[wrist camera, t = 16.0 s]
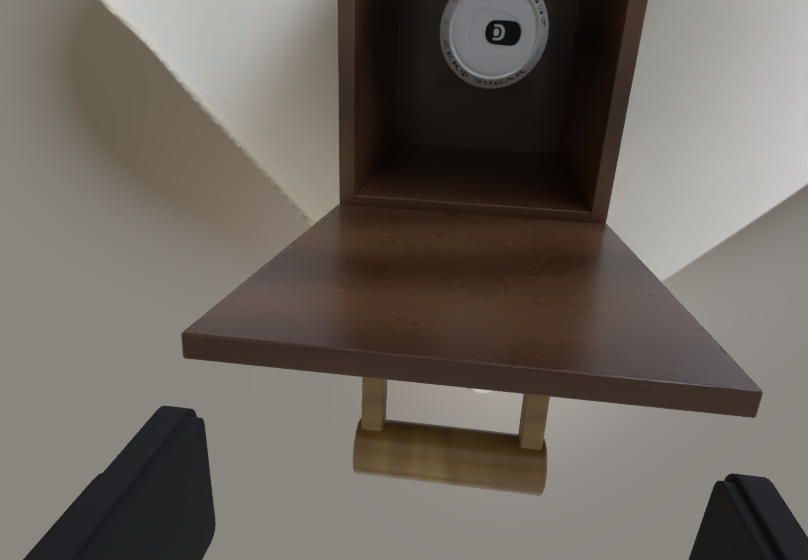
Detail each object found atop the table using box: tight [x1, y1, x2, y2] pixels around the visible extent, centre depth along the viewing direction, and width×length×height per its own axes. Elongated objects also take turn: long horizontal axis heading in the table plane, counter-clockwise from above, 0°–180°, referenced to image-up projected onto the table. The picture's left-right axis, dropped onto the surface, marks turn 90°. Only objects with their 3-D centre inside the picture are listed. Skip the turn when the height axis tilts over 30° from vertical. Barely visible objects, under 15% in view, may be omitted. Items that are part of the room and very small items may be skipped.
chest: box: [338, 0, 648, 224], centre depth 37 cm, size 18×15×17 cm
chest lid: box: [181, 205, 762, 496], centre depth 25 cm, size 19×15×5 cm
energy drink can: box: [440, 0, 549, 88], centre depth 37 cm, size 6×6×15 cm
